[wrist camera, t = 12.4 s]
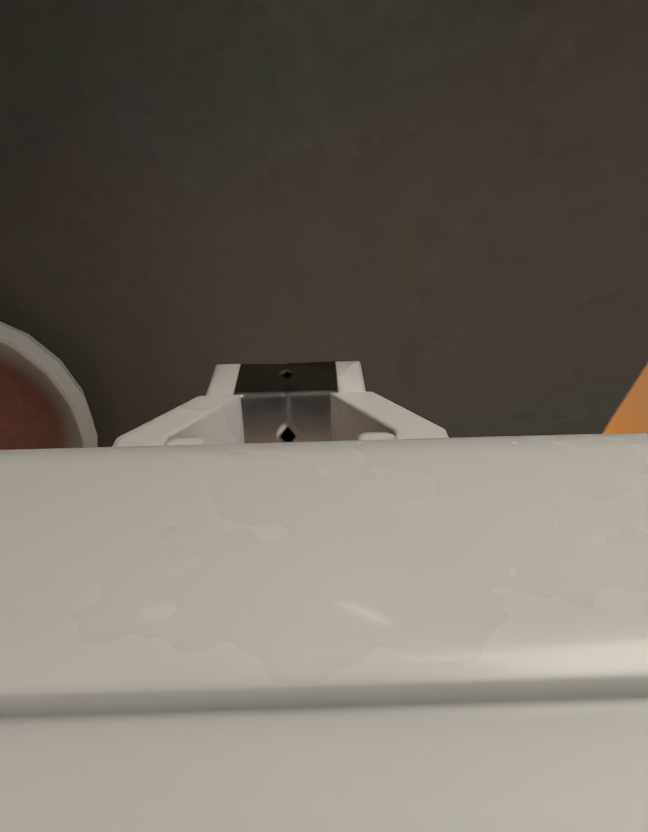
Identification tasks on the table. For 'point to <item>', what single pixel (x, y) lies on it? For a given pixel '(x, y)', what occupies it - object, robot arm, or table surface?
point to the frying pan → (39, 398)
